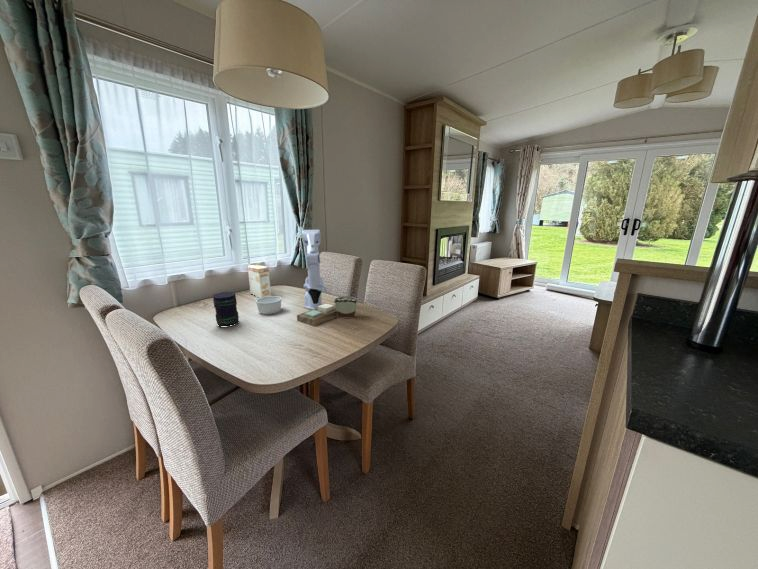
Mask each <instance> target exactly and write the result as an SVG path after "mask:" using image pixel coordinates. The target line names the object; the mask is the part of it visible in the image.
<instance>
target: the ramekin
mask: <svg viewBox="0 0 758 569" xmlns="http://www.w3.org/2000/svg"><path fill="white" fill-rule="evenodd" d="M282 302H283V301H282V297H281V296H279V295H277V296H276V295H271V296H266V297H261V298H257V299H256V300H255V303H256V306H257V310H258V313H260V314H261V313H262V315H273V314H272V313H274V314H277V313H279V312H280V311H281V310H282ZM276 312H277V313H276Z"/></svg>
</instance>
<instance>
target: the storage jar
mask: <svg viewBox="0 0 758 569" xmlns="http://www.w3.org/2000/svg"><path fill="white" fill-rule="evenodd" d="M236 297H237V296H236V292H234V291H225V292H218V293H214V294H213V295H212V298H213V307H214V308H215V309H214V310H215V321H216V323H217V324H218V325H219V326H230V325H234V324H236V323H238V322H239V323H240V320H239V312H238V308H237V304H238V302H237V298H236ZM239 323H238V324H239ZM217 324H216V325H217ZM234 326H235V325H234Z"/></svg>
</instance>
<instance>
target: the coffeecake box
mask: <svg viewBox="0 0 758 569" xmlns="http://www.w3.org/2000/svg"><path fill="white" fill-rule="evenodd" d="M247 272H248V282H249V283H248V284H249V291H250V295H251V294H253V295H255V296H254V297H256V296H257V297H256V298H258V297H259V298H261V297H266V296H272V293H271V292H272V291H271V281H270V280H271V279H270V270H269V266H265V265H260V264H250V265H247ZM253 295H252V296H253ZM259 298H258V299H259Z"/></svg>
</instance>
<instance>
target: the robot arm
mask: <svg viewBox="0 0 758 569" xmlns="http://www.w3.org/2000/svg"><path fill="white" fill-rule="evenodd" d="M301 234H302V243H303V245H304V247H305V246H306V255H305V260H306V262H305V263H306V266H307V267H306V268H307V277H306V278H305V280H304V281H305V282H304V284H303V289H305V294H304V307H303V308H306V309H310V310H313V309H315V308H318V306H320V305H323V302H322V301H323V299H322V293H326V292H327V287H325V286H324V281H323V280H324V279H323V277H322V276H321V273H320V272H321V269H320V268H321V267H320V265H321V255H320V252H319V246H320V245H321V240H322V238H321V230H320V229H302V231H301Z"/></svg>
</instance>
